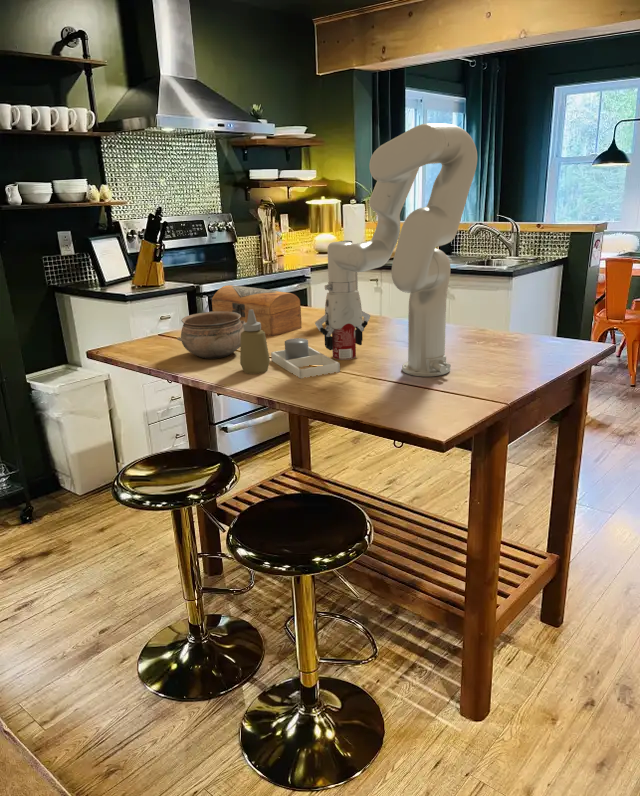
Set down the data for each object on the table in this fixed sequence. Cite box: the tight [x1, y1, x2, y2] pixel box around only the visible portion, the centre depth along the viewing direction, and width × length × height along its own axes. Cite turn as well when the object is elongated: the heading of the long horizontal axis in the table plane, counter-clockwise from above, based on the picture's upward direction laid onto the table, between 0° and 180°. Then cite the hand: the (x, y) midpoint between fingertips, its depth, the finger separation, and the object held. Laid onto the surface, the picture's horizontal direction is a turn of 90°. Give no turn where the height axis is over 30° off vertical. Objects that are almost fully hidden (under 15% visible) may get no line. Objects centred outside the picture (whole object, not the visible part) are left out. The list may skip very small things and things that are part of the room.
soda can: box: [331, 320, 357, 361], centre depth 182 cm, size 7×7×12 cm
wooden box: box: [211, 284, 302, 337], centre depth 223 cm, size 30×16×14 cm, turn 49°
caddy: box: [270, 337, 341, 379], centre depth 175 cm, size 20×12×7 cm, turn 25°
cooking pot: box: [177, 311, 245, 360], centre depth 189 cm, size 25×19×12 cm
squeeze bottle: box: [239, 310, 271, 375], centre depth 170 cm, size 8×8×18 cm
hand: (343, 346), depth 183 cm, fingers open, 9 cm apart
